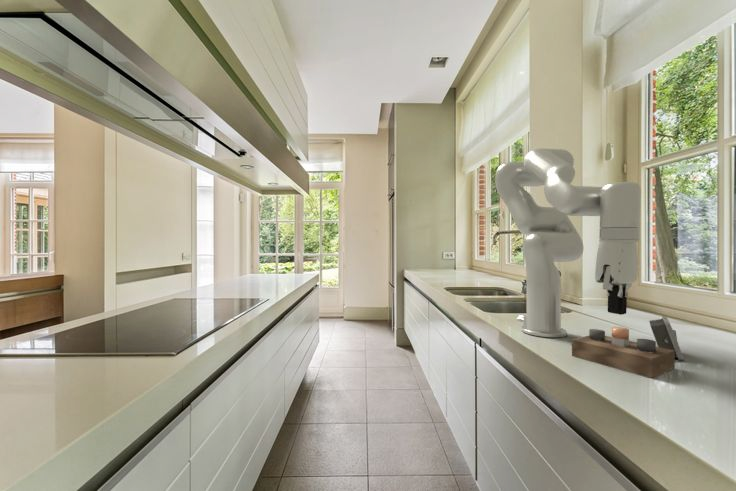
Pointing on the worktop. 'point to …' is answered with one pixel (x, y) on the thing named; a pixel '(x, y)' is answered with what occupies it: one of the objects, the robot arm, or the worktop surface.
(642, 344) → the plug right
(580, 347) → the wooden socket board
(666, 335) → the electrical switch
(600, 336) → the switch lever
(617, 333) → the plug middle
